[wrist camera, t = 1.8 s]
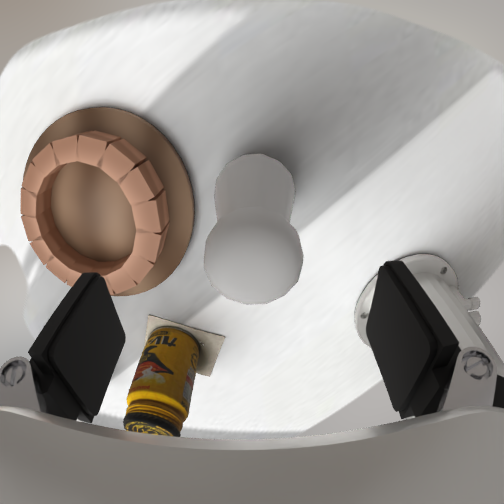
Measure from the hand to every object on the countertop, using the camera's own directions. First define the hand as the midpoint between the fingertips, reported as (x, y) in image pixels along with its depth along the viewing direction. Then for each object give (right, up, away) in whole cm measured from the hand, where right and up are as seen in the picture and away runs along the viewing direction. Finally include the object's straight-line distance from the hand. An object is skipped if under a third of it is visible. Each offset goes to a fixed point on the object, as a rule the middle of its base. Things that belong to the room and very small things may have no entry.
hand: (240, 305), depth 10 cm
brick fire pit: (-13, +6, +15) cm, 21 cm away
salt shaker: (+1, +7, +14) cm, 16 cm away
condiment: (-8, -9, +23) cm, 26 cm away
